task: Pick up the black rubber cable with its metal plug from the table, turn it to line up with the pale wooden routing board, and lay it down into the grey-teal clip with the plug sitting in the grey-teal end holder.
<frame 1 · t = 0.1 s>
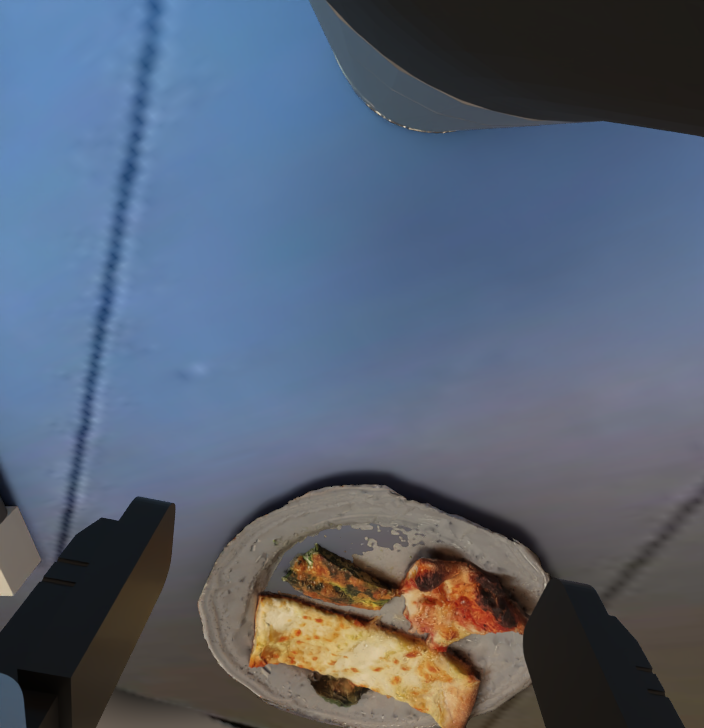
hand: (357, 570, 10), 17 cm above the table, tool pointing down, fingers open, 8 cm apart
food plate: (378, 604, 36), on the table
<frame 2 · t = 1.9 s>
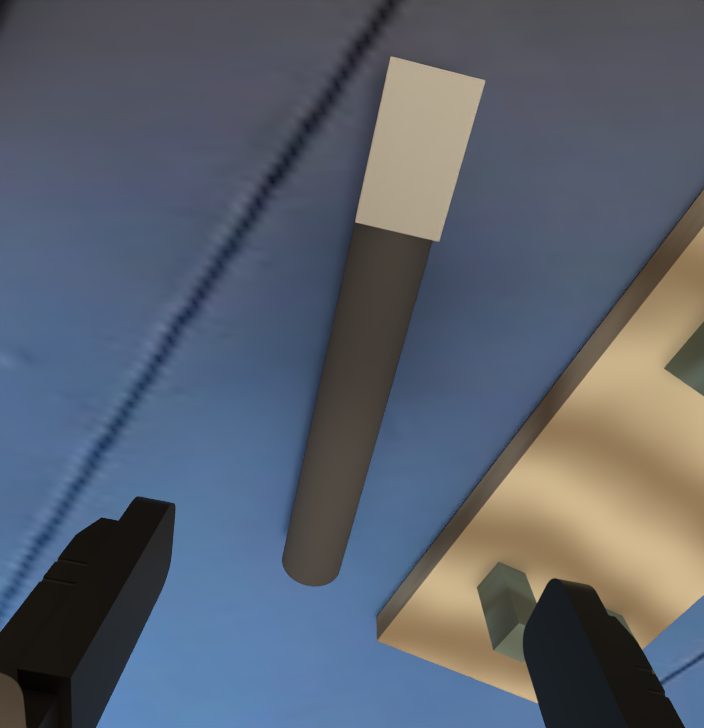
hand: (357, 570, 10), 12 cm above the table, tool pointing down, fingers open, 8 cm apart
routing board: (638, 472, 24), on the table
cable: (359, 356, 22), on the table
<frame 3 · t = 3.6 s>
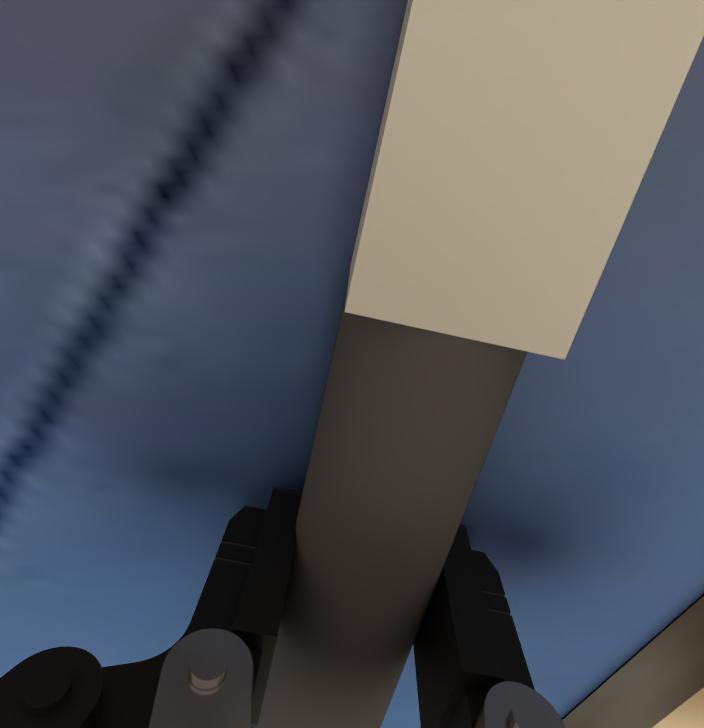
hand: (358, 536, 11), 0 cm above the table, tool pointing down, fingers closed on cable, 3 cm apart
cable: (359, 525, 11), on the table, touching gripper
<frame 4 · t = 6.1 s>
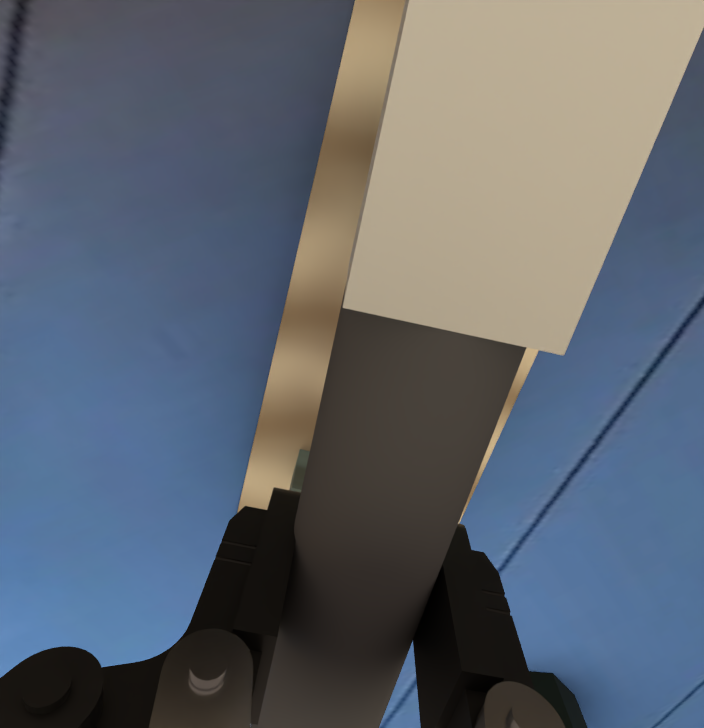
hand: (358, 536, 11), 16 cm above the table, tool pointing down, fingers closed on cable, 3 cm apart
routing board: (402, 345, 26), on the table
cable: (358, 523, 11), point 16 cm above the table, touching gripper
wine bottle: (519, 702, 38), on the table
when the fingers open (3 cm above the table, at t = 8.5 s): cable drops 1 cm, resting on routing board.
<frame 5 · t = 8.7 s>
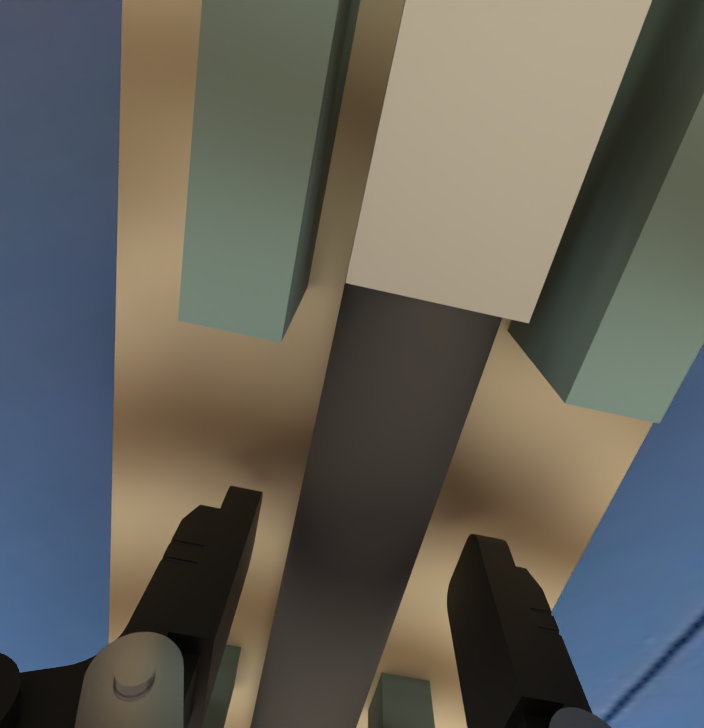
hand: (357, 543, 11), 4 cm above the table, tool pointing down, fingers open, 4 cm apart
routing board: (360, 454, 14), on the table
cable: (359, 486, 13), point 1 cm above the table, touching routing board
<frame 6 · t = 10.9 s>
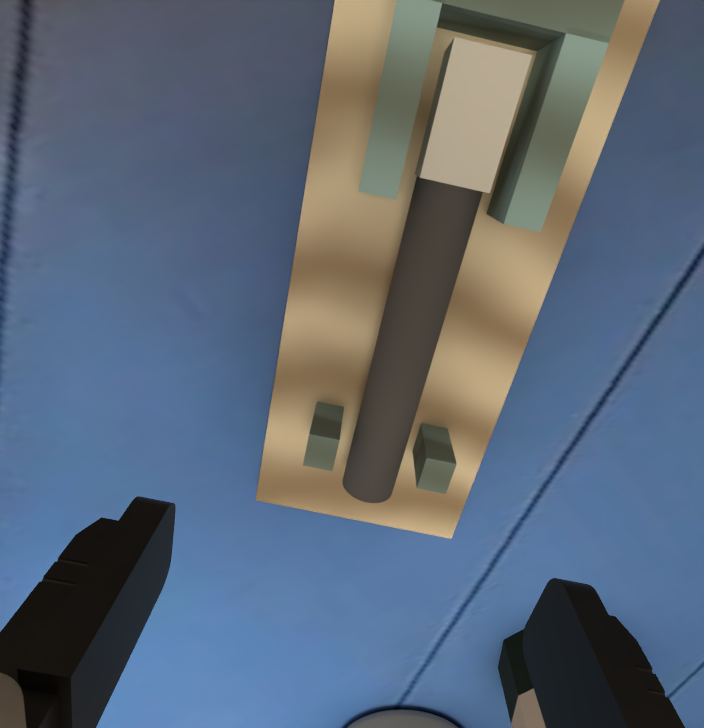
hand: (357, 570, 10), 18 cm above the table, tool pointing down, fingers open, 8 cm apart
routing board: (411, 293, 27), on the table
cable: (413, 301, 25), point 1 cm above the table, touching routing board
wine bottle: (549, 654, 38), on the table
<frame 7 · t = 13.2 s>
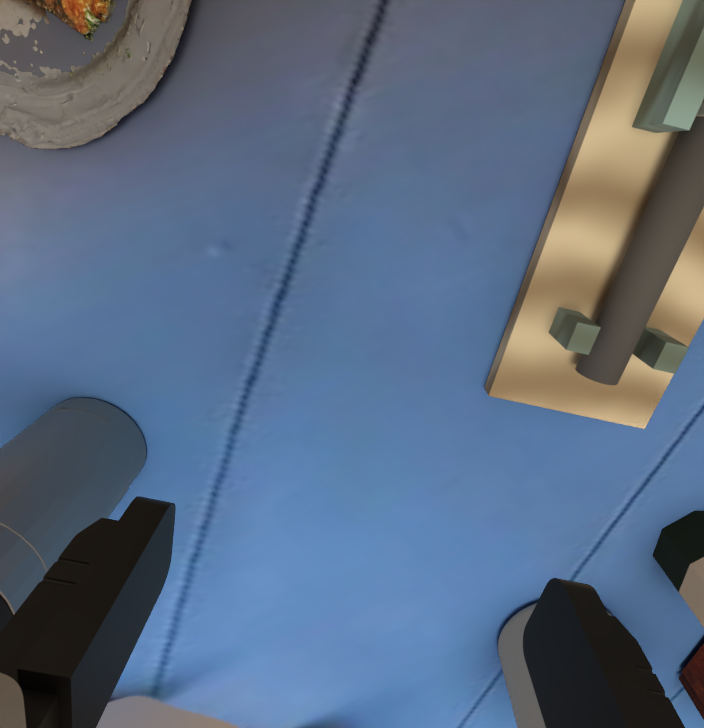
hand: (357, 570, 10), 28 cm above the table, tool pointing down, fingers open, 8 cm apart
routing board: (642, 218, 34), on the table
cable: (653, 221, 32), point 1 cm above the table, touching routing board
wine bottle: (697, 542, 45), on the table
cylinder vase: (555, 635, 51), on the table
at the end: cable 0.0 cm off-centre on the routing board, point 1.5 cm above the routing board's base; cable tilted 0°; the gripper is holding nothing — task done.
